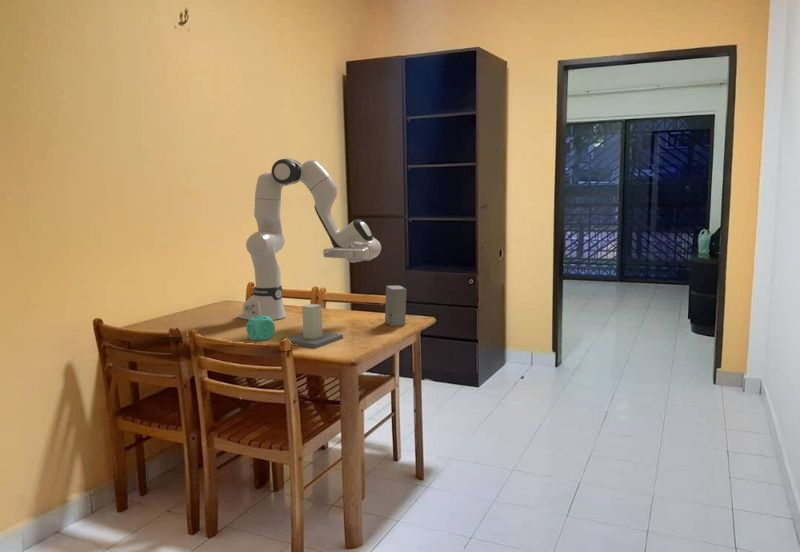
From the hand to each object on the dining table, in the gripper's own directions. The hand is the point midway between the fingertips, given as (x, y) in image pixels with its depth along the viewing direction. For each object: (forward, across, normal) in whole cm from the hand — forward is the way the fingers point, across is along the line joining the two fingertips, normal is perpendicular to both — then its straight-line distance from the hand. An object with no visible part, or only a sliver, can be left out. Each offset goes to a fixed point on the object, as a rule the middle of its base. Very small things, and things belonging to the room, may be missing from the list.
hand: (334, 255), depth 247 cm
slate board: (+21, +5, +30) cm, 37 cm away
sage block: (+21, +5, +28) cm, 36 cm away
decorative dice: (+27, -16, +30) cm, 44 cm away
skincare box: (-17, +18, +30) cm, 39 cm away
